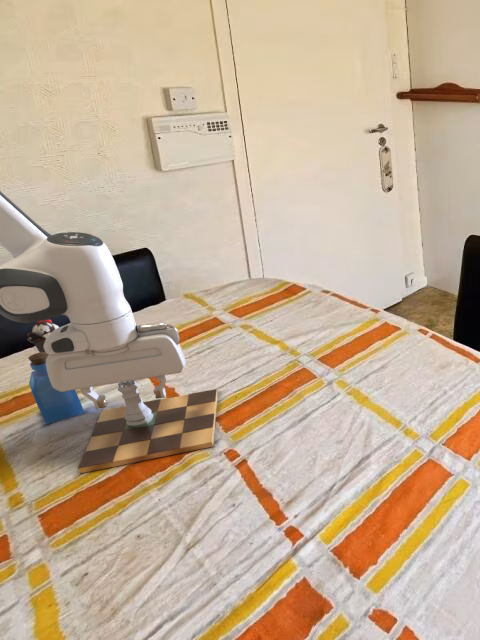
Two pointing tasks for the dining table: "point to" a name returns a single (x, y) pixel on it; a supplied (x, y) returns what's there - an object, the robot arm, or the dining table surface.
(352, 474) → the dining table surface
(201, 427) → the chessboard
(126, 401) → the rook chess piece
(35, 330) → the sundae
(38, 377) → the perfume bottle
